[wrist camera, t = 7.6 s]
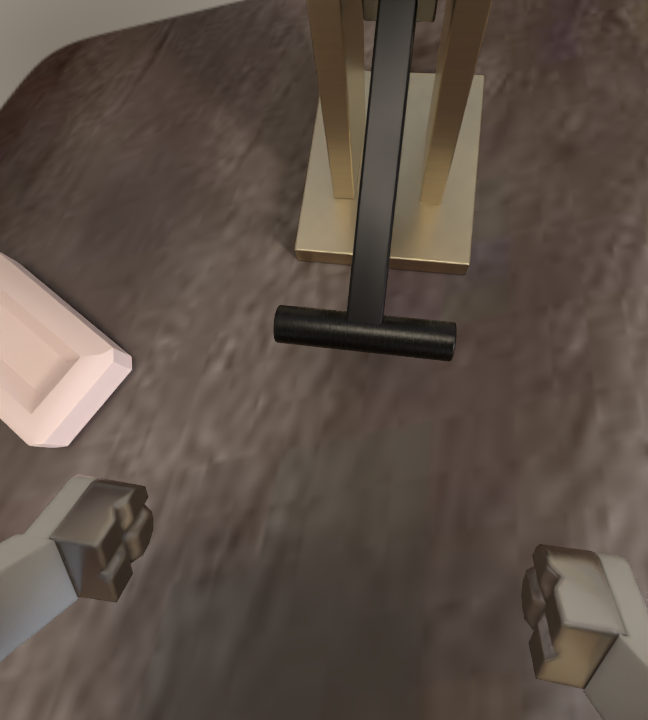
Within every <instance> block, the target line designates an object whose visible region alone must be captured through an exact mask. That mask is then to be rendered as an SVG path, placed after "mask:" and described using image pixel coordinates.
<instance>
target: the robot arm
mask: <svg viewBox="0 0 648 720" xmlns="http://www.w3.org/2000/svg"><path fill="white" fill-rule="evenodd" d="M147 499H148V494H147V491H146V487H145V486H141V485H136V484H130V483H125V482H119V481H113V480H108V479H102V478H96V477H90V476H84V475H75V476H74V477H72V478H70V479H69V480H68V481H67V482H66V484H65V485H64V486H63V487H62V488H61V490H60V491H59V492H58V493H57V494H56V496H55V497H54V498H53V499H52V501H51V502H50V503H49V504H48V505H47V507H46V508H45V509H44V510H43V511H42V513H41V514H40V515H39V516H38V517H37V519H36V520H35V521H34V522H33V524H32V525H31V526H30V527H29V528H28V530H27V531H26V532H25V533H24V534H23V535H22V534H15V535H14V536H12V537H10V538H8V539H6V540H4V541H3V542H1V543H0V661H2V660H3V659H4V658H5V657H7V656H8V655H9V654H10V653H12V652H13V651H14V650H15V649H16V648H18V647H19V646H20V645H21V644H23V643H24V642H25V641H26V640H28V639H29V638H30V637H31V636H33V635H34V634H35V633H36V632H38V631H39V630H40V629H41V628H43V627H44V626H45V625H46V624H48V623H49V622H50V621H51V620H53V619H54V618H55V617H56V616H58V615H59V614H60V613H61V612H63V611H64V610H65V609H66V608H68V607H69V606H70V605H71V604H73V603H74V602H75V601H76V600H78V597H84V598H90V599H97V600H104V601H110V602H117V601H118V599H119V597H120V596H121V594H122V592H123V590H124V588H125V587H126V585H127V583H128V581H129V579H130V578H131V576H132V574H133V572H132V566H131V563H132V562H133V561H135V560H136V559H138V558H139V557H141V556H142V555H143V554H144V552H145V550H146V548H147V546H148V544H149V542H150V539H151V535H152V532H153V515H152V511H151V510H150V509H149V508H148V507H147V506H146V505H145V502H146V500H147ZM532 556H533V561H534V566H533V567H531V568H529V569H528V570H527V571H526V573H525V576H524V579H523V585H522V607H523V613H524V619H525V620H526V622H527V623H528V624H529V625H530V627H531V628H532V629H533V630H534V632H533V634H532V636H531V639H530V641H529V646H530V651H531V657H532V662H533V667H534V672H535V677H536V679H539V680H544V681H548V682H553V683H558V684H563V685H568V686H572V687H577V688H582V689H585V690H584V693H585V694H586V696H587V697H588V699H589V700H590V702H591V703H592V704H593V706H594V707H595V709H596V710H597V712H598V713H599V715H600V716H601V717H602V719H603V720H648V609H647V607H646V604H645V602H644V599H643V597H642V595H641V592H640V590H639V587H638V585H637V583H636V580H635V578H634V575H633V573H632V571H631V568H630V566H629V563H628V561H627V560H626V559H625V558H624V557H623V556H617V555H610V554H603V553H597V552H592V551H586V550H579V549H572V548H564V547H557V546H550V545H542V544H539V545H538V546H537V547H536V548H535V551H534V553H533V555H532Z"/></svg>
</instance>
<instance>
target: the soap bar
mask: <svg viewBox="0 0 648 720" xmlns="http://www.w3.org/2000/svg"><path fill="white" fill-rule="evenodd" d="M131 370H132V357H131V356H130V355H129V354H128V353H126V352H125V351H124V350H123V349H122V348H120V347H119V346H118V345H117V344H116V343H114V342H113V341H112V340H111V339H110V338H108V337H107V336H106V335H105V334H104V333H102V332H101V331H100V330H99V329H98V328H96V327H95V326H94V325H93V324H92V323H90V322H89V321H88V320H87V319H86V318H84V317H83V316H82V315H81V314H80V313H78V312H77V311H76V310H75V309H74V308H72V307H71V306H70V305H69V304H68V303H66V302H65V301H64V300H63V299H62V298H60V297H59V296H58V295H57V294H55V293H54V292H53V291H52V290H51V289H49V288H48V287H47V286H46V285H45V284H43V283H42V282H41V281H40V280H39V279H37V278H36V277H35V276H34V275H33V274H31V273H30V272H29V271H28V270H27V269H25V268H24V267H23V266H22V265H21V264H19V263H18V262H16V261H15V260H13V259H11V258H10V257H8V256H6V255H5V254H3V253H1V252H0V419H1V420H2V421H4V422H5V423H6V424H7V425H8V426H9V427H10V428H11V429H12V430H13V431H14V432H15V433H16V434H17V435H18V436H19V437H20V438H22V439H23V440H24V441H25V442H26V443H27V444H28V445H29V446H38V447H50V448H57V447H65V446H68V445H69V444H70V443H71V441H72V440H73V439H74V438H75V437H76V435H77V434H78V433H79V432H80V431H81V430H82V428H83V427H84V426H85V425H86V424H87V422H88V421H89V420H90V419H91V418H92V417H93V415H94V414H95V413H96V412H97V411H98V409H99V408H100V407H101V406H102V405H103V404H104V402H105V401H106V400H107V399H108V398H109V396H110V395H111V394H112V393H113V392H114V391H115V389H116V388H117V387H118V386H119V385H120V383H121V382H122V381H123V380H124V379H125V378H126V376H127V375H128V374H129V373H130V372H131Z"/></svg>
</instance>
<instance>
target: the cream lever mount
mask: <svg viewBox="0 0 648 720" xmlns="http://www.w3.org/2000/svg"><path fill="white" fill-rule="evenodd" d="M306 2H307V9H308V16H309V23H310V30H311V37H312V44H313V52H314V59H315V66H316V73H317V80H318V87H319V99H318V105H317V111H316V117H315V124H314V130H313V136H312V142H311V148H310V155H309V161H308V167H307V173H306V179H305V186H304V192H303V198H302V204H301V210H300V217H299V223H298V229H297V235H296V241H295V248H294V250H295V253H296V256H297V259H298V260H300V261H311V262H322V263H334V264H345V265H352V256H353V246H354V236H355V226H356V216H357V206H358V197H359V187H360V177H361V167H362V157H363V147H364V137H365V127H366V117H367V107H368V97H369V87H370V78H371V71H364V24H363V10H362V1H361V0H306ZM492 2H493V0H447V3H446V9H445V15H444V22H443V28H442V35H441V41H440V47H439V54H438V60H437V67H436V73H435V74H432V73H410V81H409V90H408V99H407V108H406V117H405V126H404V135H403V144H402V153H401V162H400V171H399V180H398V189H397V198H396V207H395V216H394V225H393V234H392V243H391V252H390V261H389V268H391V269H402V270H413V271H425V272H436V273H447V274H459V275H465V274H466V271H467V269H468V267H469V265H470V255H471V243H472V230H473V217H474V204H475V192H476V179H477V166H478V154H479V141H480V128H481V116H482V103H483V90H484V76H483V75H474V73H475V69H476V65H477V61H478V57H479V53H480V49H481V45H482V42H483V38H484V34H485V30H486V26H487V22H488V18H489V14H490V10H491V6H492Z"/></svg>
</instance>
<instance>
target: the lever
mask: <svg viewBox="0 0 648 720" xmlns="http://www.w3.org/2000/svg"><path fill="white" fill-rule="evenodd" d="M361 1H362V10H363V18H364V20H366V21H376V28H375V38H374V48H373V58H372V68H371V78H370V87H369V97H368V107H367V117H366V127H365V137H364V147H363V157H362V167H361V177H360V187H359V197H358V206H357V216H356V226H355V236H354V246H353V256H352V266H351V276H350V286H349V296H348V306H347V312H346V311H336V310H326V309H316V308H306V307H296V306H286V305H280V306H278V308H277V310H276V314H275V319H274V339H275V341H276V342H277V343H286V344H295V345H304V346H313V347H323V348H332V349H341V350H350V351H359V352H368V353H377V354H386V355H396V356H405V357H414V358H423V359H432V360H441V361H451V360H452V358H453V355H454V350H455V344H456V331H457V330H456V323H454V322H446V321H436V320H426V319H416V318H406V317H396V316H386V315H384V307H385V298H386V288H387V279H388V270H389V261H390V252H391V243H392V234H393V225H394V216H395V207H396V198H397V189H398V180H399V171H400V162H401V153H402V144H403V135H404V126H405V117H406V108H407V99H408V90H409V81H410V72H411V63H412V54H413V45H414V36H415V27H416V22H434V20H435V15H436V8H437V2H438V0H361Z"/></svg>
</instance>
